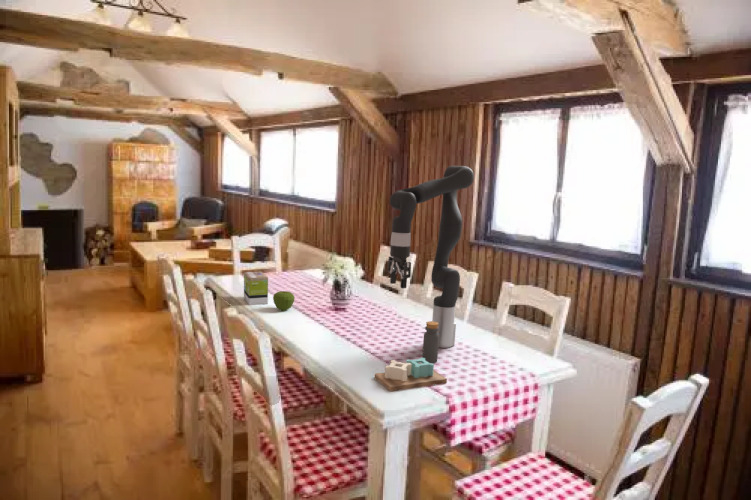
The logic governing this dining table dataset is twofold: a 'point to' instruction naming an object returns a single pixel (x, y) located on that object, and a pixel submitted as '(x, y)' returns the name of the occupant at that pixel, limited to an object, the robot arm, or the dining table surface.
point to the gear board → (410, 381)
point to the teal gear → (421, 367)
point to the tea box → (255, 288)
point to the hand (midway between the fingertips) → (398, 285)
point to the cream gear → (398, 370)
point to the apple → (283, 300)
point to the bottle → (431, 342)
